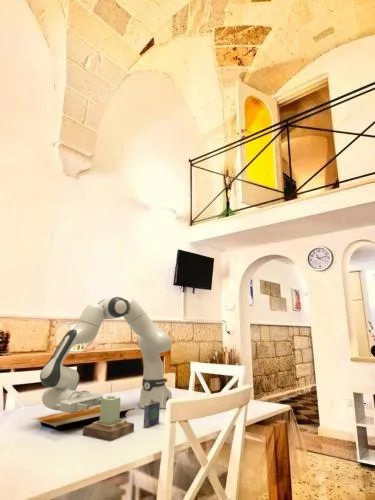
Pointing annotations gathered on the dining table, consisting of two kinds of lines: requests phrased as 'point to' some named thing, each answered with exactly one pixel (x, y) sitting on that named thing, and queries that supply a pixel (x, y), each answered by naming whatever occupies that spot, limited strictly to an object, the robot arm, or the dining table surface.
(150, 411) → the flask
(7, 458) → the dining table surface
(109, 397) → the pillar
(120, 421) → the base
